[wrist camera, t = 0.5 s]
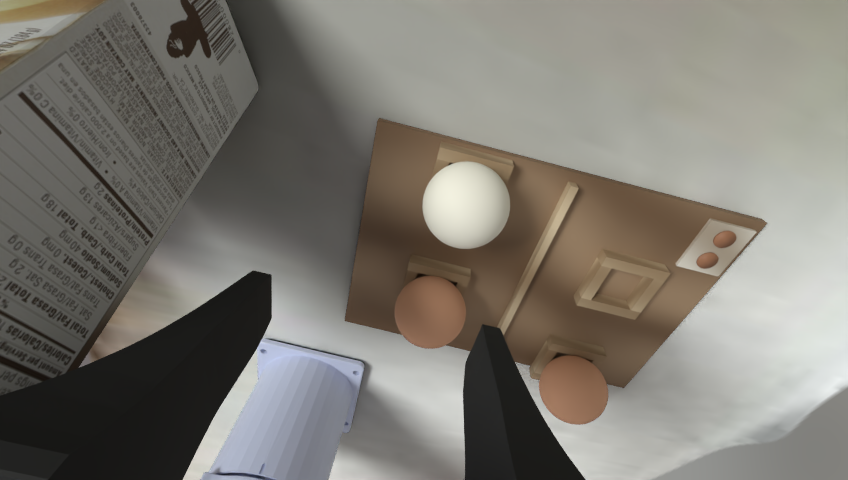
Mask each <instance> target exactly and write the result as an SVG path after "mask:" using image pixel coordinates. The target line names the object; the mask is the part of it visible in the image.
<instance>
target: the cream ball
mask: <svg viewBox="0 0 848 480" xmlns="http://www.w3.org/2000/svg"><path fill="white" fill-rule="evenodd" d="M422 208H423V215H424V219H425V222H426V224H427V226H428V228H429V229H430V231H431V232H432V233H433V235H434V236H435V237H437V238H438V239H439V240H440V241H441V242H443V243H445V244H447V245H449V246H451V247H455V248H460V249H472V248H477V247H480V246H483V245H485V244H487V243H489V242H490V241H492V240H493V239H494V238H495V237H497V236H498V235H499V233H500V232H501V231H502V229H503V228H504V226H505V224H506V222H507V220H508V217H509V212H510V197H509V193H508V190H507V188H506V185H505V183H504V182H503V180H502V179H501V178H500V176H499V175H498V174H497V173H496V172H494V171H493V170H492V169H490V168H489V167H487V166H485V165H483V164H480V163H476V162H468V161H466V162H457V163H454V164H451V165H449V166H446V167H445V168H443V169H441V170H440V171H439V172H438V173H436V174H435V176H434V177H433V178H432V179H431V180H430V182H429V183H428V185H427V187H426V190H425V193H424V196H423V206H422Z"/></svg>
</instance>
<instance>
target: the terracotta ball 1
mask: <svg viewBox="0 0 848 480" xmlns="http://www.w3.org/2000/svg"><path fill="white" fill-rule="evenodd" d="M465 318H466V306H465V302H464V299H463V297H462V295H461V293H460V291H459V290H458V289H457V288H456V287H455V286H454V285H453V284H452V283H451V282H449V281H448V280H446V279H444V278H441V277H437V276H423V277H420V278H417V279H415V280H413V281H411V282H410V283H408V284H407V285H406V286H405V287H404V288H403V289H402V291H401V292H400V294H399V296H398V298H397V300H396V303H395V320H396V324H397V327H398V329H399V331H400V332H401V334H402V335H403V336H404V337H405V338H406V339H407V340H408V341H409V342H411V343H412V344H414V345H416V346H419V347H422V348H439V347H442V346H445V345H447V344H449V343H450V342H451V341H453V340H454V339H455V338H456V337H457V336H458V334H459V333H460V332H461V330H462V328H463V326H464V322H465Z"/></svg>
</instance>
